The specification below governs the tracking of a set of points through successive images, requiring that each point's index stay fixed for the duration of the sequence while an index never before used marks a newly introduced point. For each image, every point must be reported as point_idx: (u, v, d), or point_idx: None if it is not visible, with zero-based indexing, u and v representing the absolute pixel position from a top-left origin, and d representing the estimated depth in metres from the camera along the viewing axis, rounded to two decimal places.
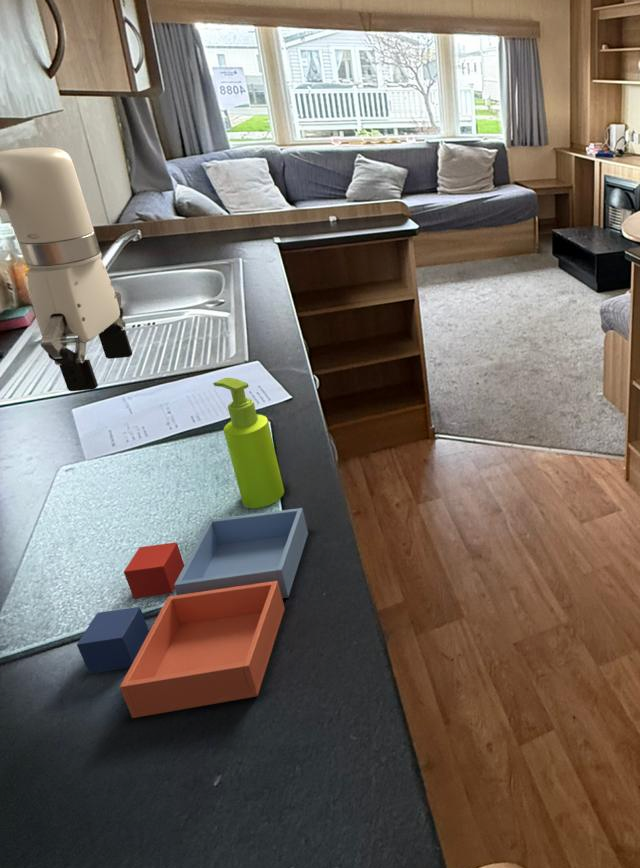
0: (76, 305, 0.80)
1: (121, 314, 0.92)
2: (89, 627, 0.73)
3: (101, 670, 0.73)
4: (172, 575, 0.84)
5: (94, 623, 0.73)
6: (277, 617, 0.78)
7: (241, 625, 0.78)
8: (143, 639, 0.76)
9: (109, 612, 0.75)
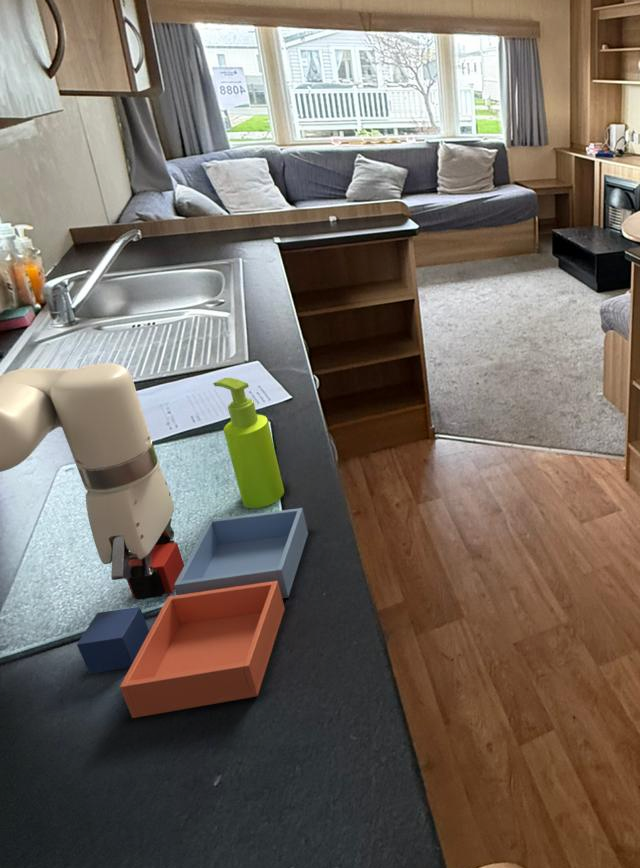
0: (135, 525, 0.77)
1: (169, 522, 0.87)
2: (89, 627, 0.73)
3: (101, 670, 0.73)
4: (172, 575, 0.84)
5: (94, 623, 0.73)
6: (277, 617, 0.78)
7: (241, 625, 0.78)
8: (143, 639, 0.76)
9: (109, 612, 0.75)
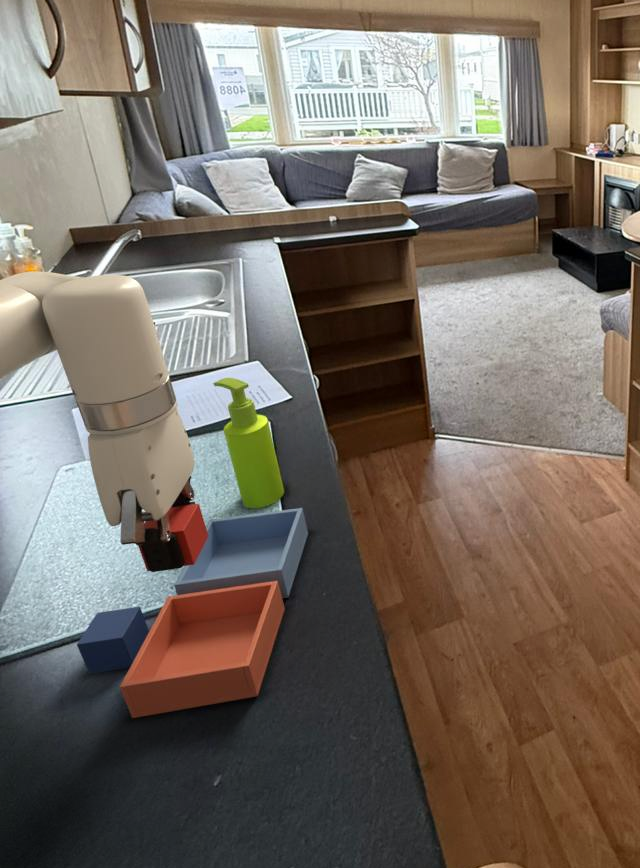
0: (149, 477, 0.62)
1: (189, 480, 0.72)
2: (89, 627, 0.73)
3: (101, 670, 0.73)
4: (194, 542, 0.69)
5: (94, 623, 0.73)
6: (277, 617, 0.78)
7: (241, 625, 0.78)
8: (143, 639, 0.76)
9: (109, 612, 0.75)
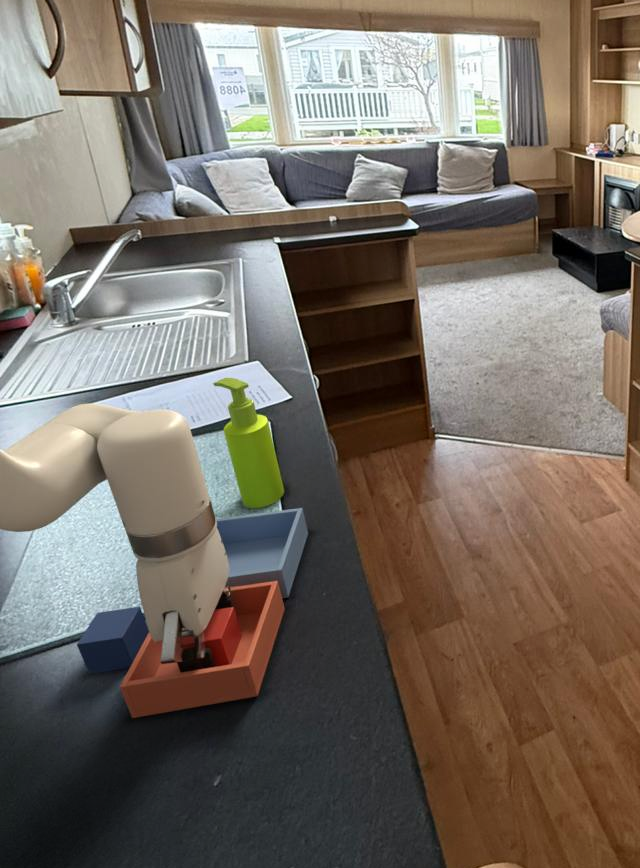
0: (192, 598, 0.66)
1: None
2: (89, 627, 0.73)
3: (101, 670, 0.73)
4: (230, 646, 0.73)
5: (94, 623, 0.73)
6: (277, 617, 0.78)
7: (241, 625, 0.78)
8: (143, 639, 0.76)
9: (109, 612, 0.75)
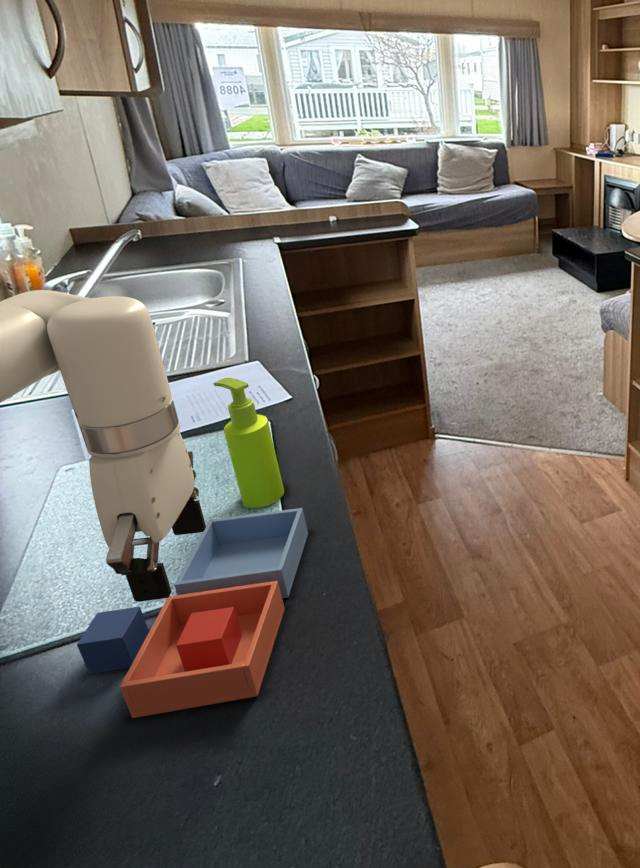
0: (150, 500, 0.61)
1: (193, 479, 0.73)
2: (89, 627, 0.73)
3: (101, 670, 0.73)
4: (230, 646, 0.73)
5: (94, 623, 0.73)
6: (277, 617, 0.78)
7: (241, 625, 0.78)
8: (143, 639, 0.76)
9: (109, 612, 0.75)
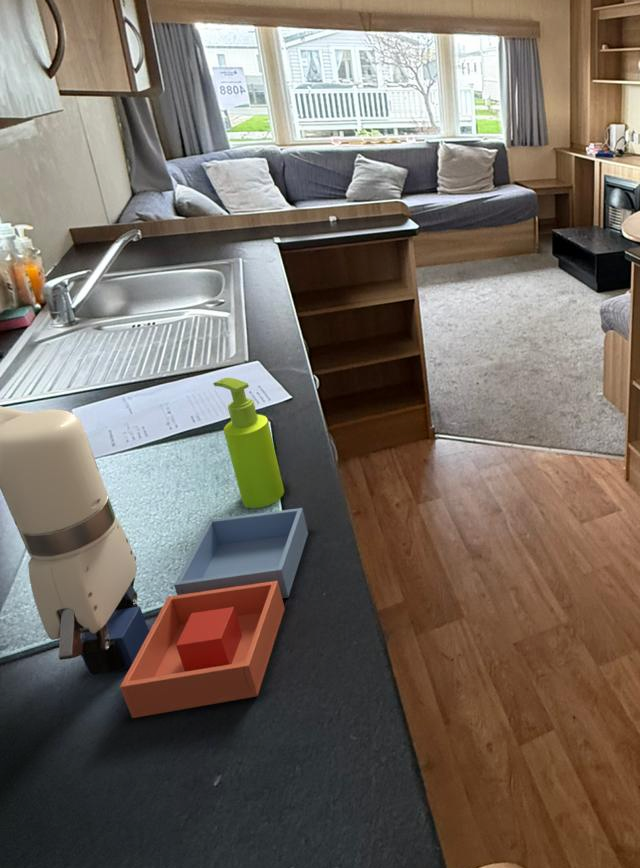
0: (87, 595, 0.67)
1: (132, 582, 0.77)
2: None
3: None
4: (230, 646, 0.73)
5: None
6: (277, 617, 0.78)
7: (241, 625, 0.78)
8: (143, 639, 0.76)
9: None
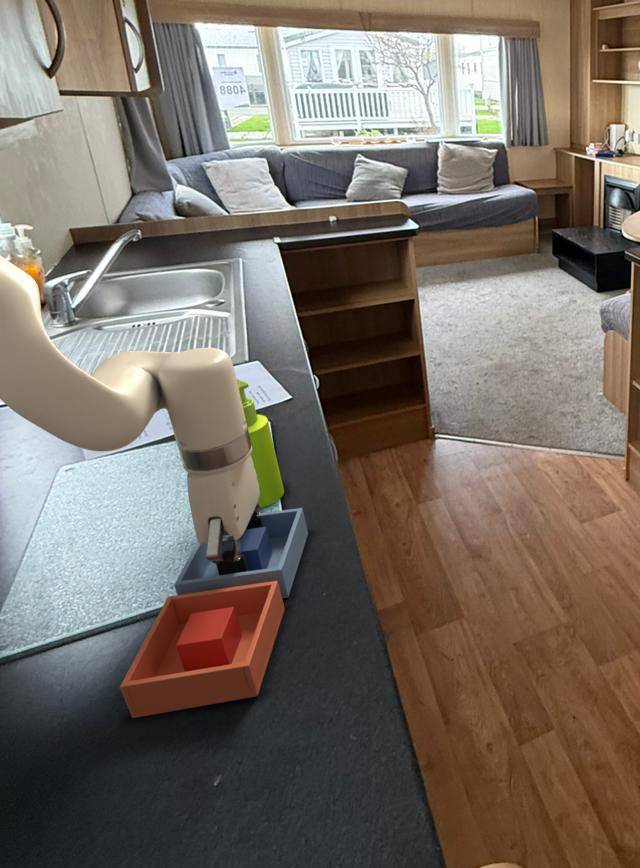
0: (232, 506, 0.78)
1: None
2: (226, 542, 0.85)
3: None
4: (230, 646, 0.73)
5: None
6: (277, 617, 0.78)
7: (241, 625, 0.78)
8: (268, 555, 0.88)
9: None
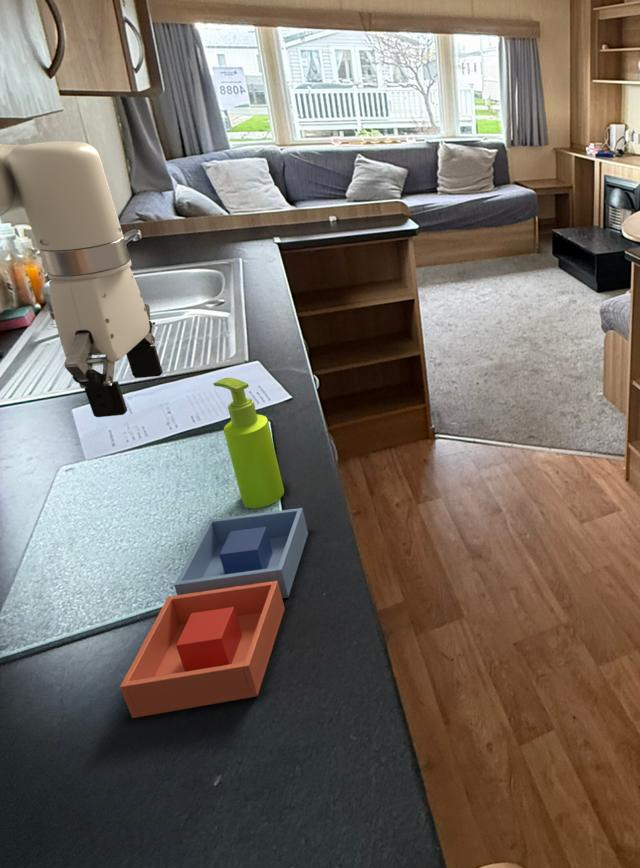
0: (104, 320, 0.70)
1: (150, 328, 0.82)
2: (226, 542, 0.85)
3: None
4: (230, 646, 0.73)
5: (230, 539, 0.85)
6: (277, 617, 0.78)
7: (241, 625, 0.78)
8: (268, 555, 0.88)
9: (240, 531, 0.87)
